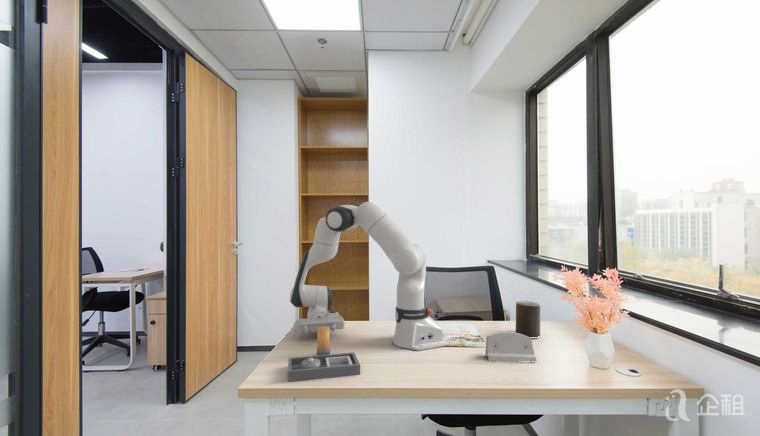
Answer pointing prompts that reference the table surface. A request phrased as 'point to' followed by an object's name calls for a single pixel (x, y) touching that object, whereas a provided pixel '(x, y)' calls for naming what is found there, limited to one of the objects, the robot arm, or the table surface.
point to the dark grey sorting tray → (323, 366)
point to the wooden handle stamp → (323, 340)
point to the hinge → (509, 347)
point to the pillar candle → (528, 318)
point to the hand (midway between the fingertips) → (320, 330)
